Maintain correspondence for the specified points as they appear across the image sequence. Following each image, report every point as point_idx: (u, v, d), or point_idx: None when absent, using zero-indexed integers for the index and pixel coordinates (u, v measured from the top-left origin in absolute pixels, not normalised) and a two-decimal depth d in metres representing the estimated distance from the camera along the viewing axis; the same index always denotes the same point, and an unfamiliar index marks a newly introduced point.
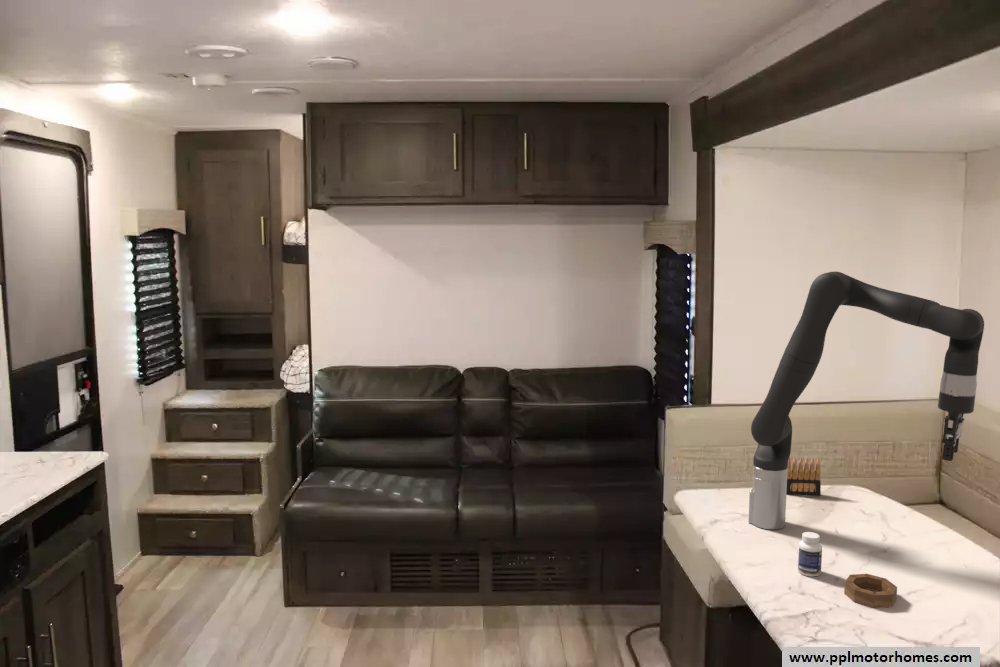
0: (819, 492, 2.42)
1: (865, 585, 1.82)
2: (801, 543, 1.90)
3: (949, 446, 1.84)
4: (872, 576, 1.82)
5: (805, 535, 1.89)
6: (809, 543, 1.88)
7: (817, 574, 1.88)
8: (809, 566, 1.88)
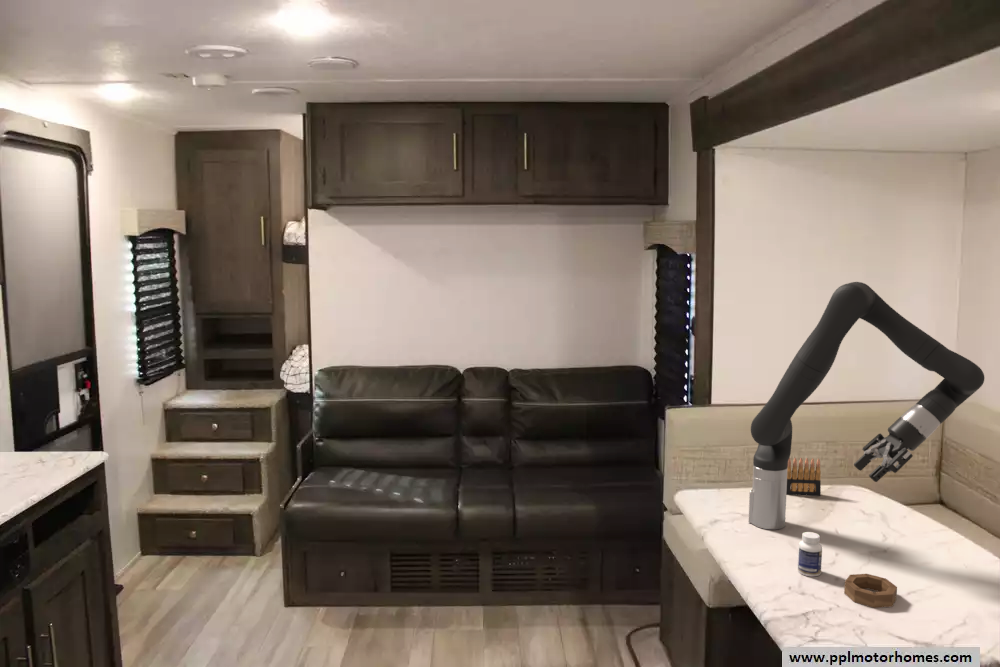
0: (819, 492, 2.42)
1: (865, 585, 1.82)
2: (801, 543, 1.90)
3: (886, 470, 1.83)
4: (872, 576, 1.82)
5: (805, 535, 1.89)
6: (809, 543, 1.88)
7: (817, 574, 1.88)
8: (809, 566, 1.88)
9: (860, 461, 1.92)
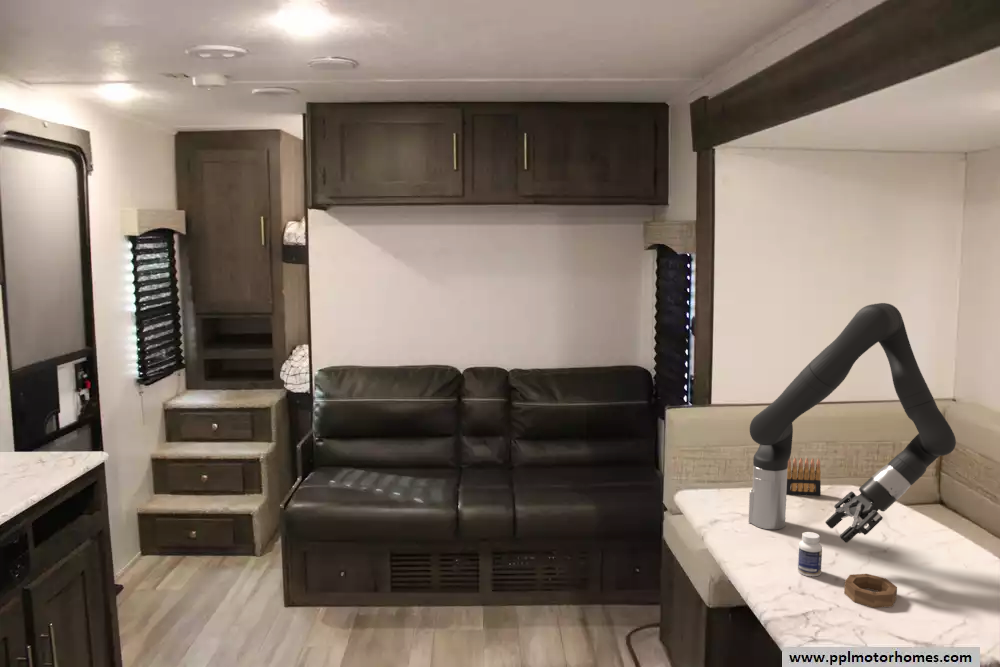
0: (819, 492, 2.42)
1: (865, 585, 1.82)
2: (801, 543, 1.90)
3: (856, 531, 1.83)
4: (872, 576, 1.82)
5: (805, 535, 1.89)
6: (809, 543, 1.88)
7: (817, 574, 1.88)
8: (809, 566, 1.88)
9: (831, 519, 1.93)
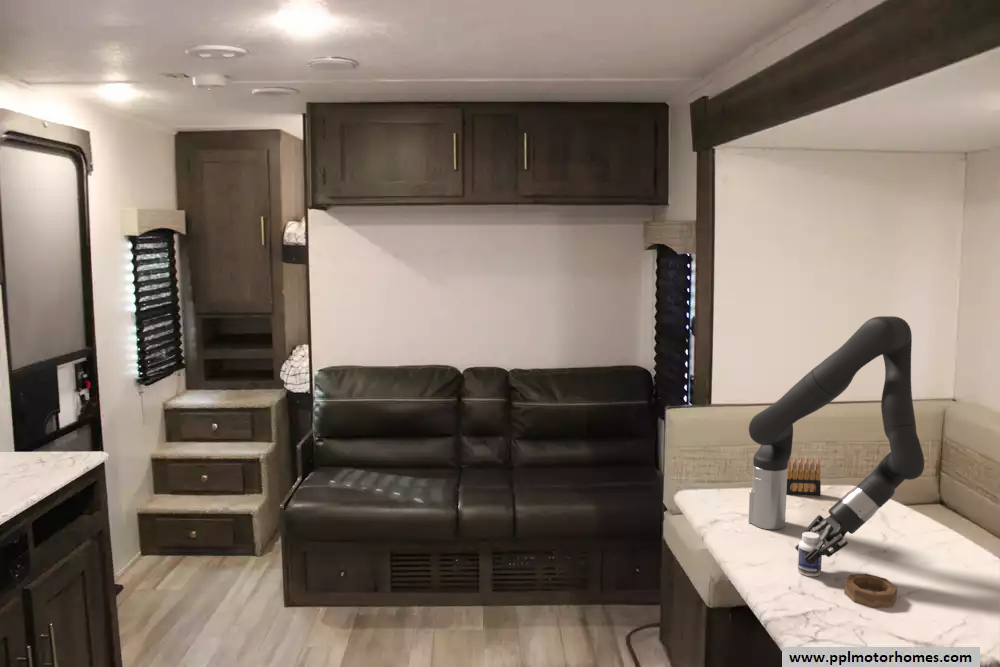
0: (819, 492, 2.42)
1: (865, 585, 1.82)
2: (801, 543, 1.90)
3: (820, 554, 1.86)
4: (872, 576, 1.82)
5: (805, 535, 1.89)
6: (809, 543, 1.88)
7: (817, 574, 1.88)
8: (809, 566, 1.88)
9: None
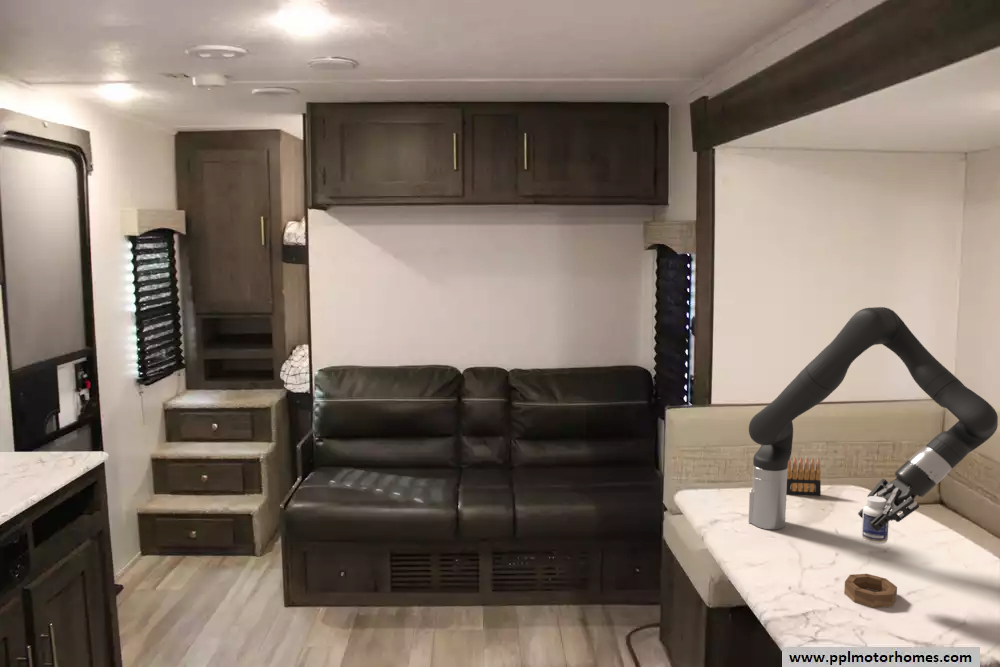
0: (819, 492, 2.42)
1: (865, 585, 1.82)
2: (866, 508, 1.75)
3: (888, 518, 1.71)
4: (872, 576, 1.82)
5: (870, 499, 1.74)
6: (875, 508, 1.74)
7: (884, 541, 1.74)
8: (875, 533, 1.73)
9: None
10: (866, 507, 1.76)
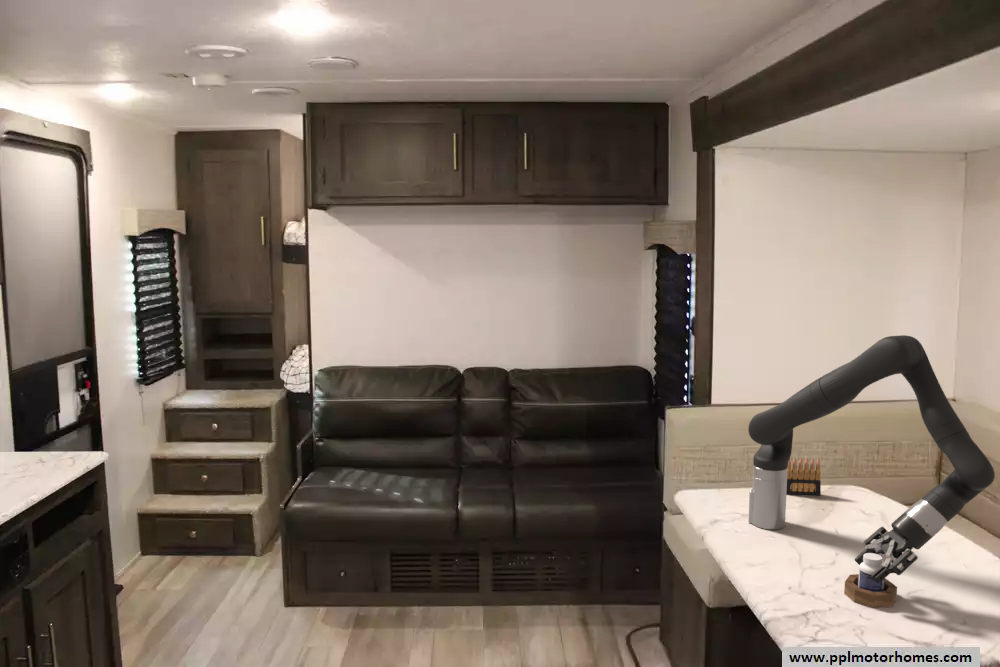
0: (819, 492, 2.42)
1: None
2: (862, 565, 1.77)
3: (889, 571, 1.72)
4: None
5: (867, 557, 1.77)
6: (871, 566, 1.76)
7: None
8: (871, 590, 1.76)
9: (861, 556, 1.81)
10: (862, 564, 1.78)
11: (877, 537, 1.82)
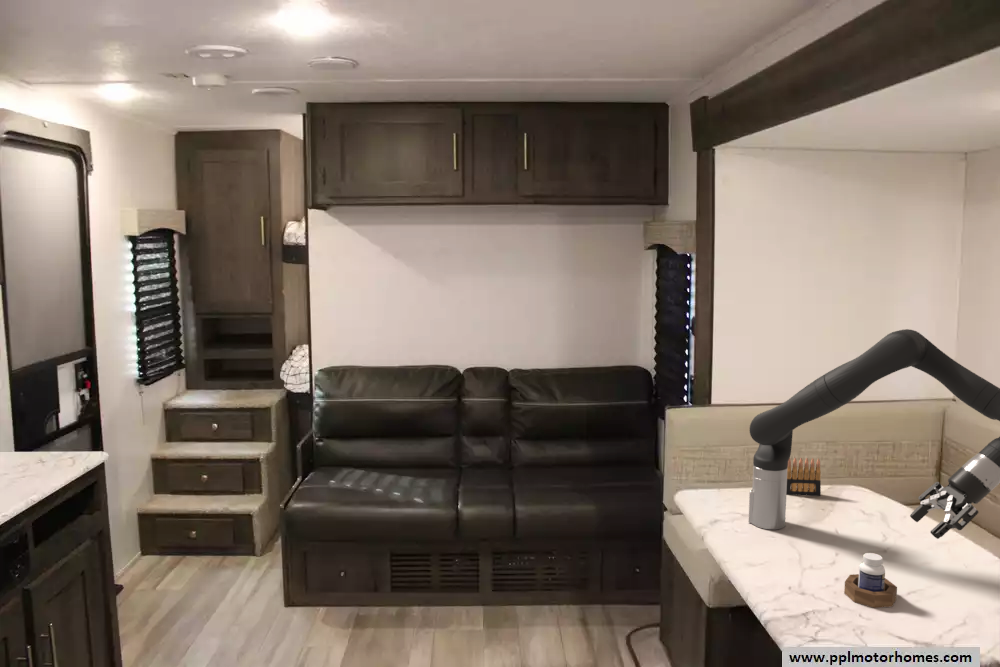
0: (819, 492, 2.42)
1: None
2: (862, 565, 1.77)
3: (949, 527, 1.71)
4: None
5: (867, 557, 1.77)
6: (871, 566, 1.76)
7: None
8: (871, 590, 1.76)
9: (917, 512, 1.80)
10: (862, 564, 1.78)
11: (932, 492, 1.81)
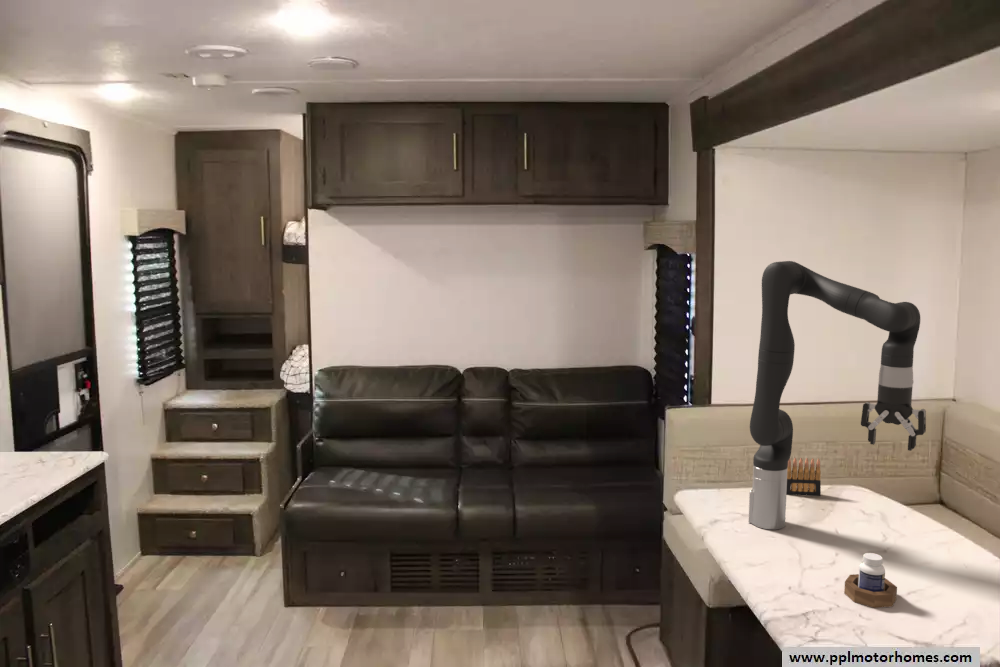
0: (819, 492, 2.42)
1: None
2: (862, 565, 1.77)
3: (916, 435, 1.88)
4: None
5: (867, 557, 1.77)
6: (871, 566, 1.76)
7: None
8: (871, 590, 1.76)
9: (873, 437, 1.94)
10: (862, 564, 1.78)
11: (867, 414, 1.94)
